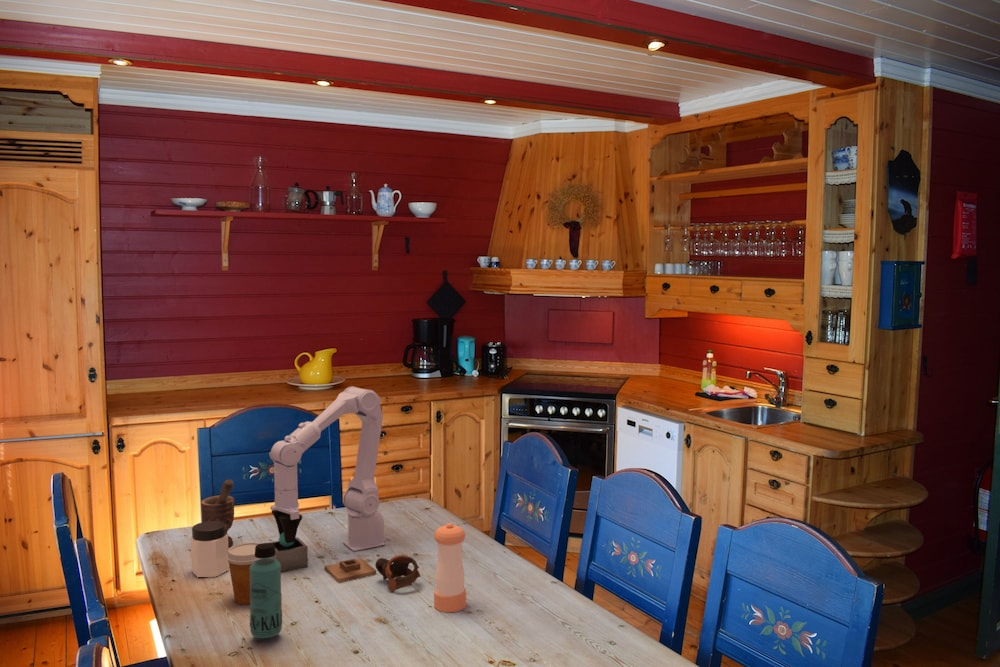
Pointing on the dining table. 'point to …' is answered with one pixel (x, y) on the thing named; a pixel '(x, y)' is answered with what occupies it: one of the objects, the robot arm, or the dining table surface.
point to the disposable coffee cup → (241, 570)
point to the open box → (291, 555)
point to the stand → (349, 570)
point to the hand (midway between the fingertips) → (287, 539)
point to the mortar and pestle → (220, 508)
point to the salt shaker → (449, 569)
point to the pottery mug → (398, 571)
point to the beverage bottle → (265, 593)
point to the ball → (283, 542)
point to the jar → (209, 549)
